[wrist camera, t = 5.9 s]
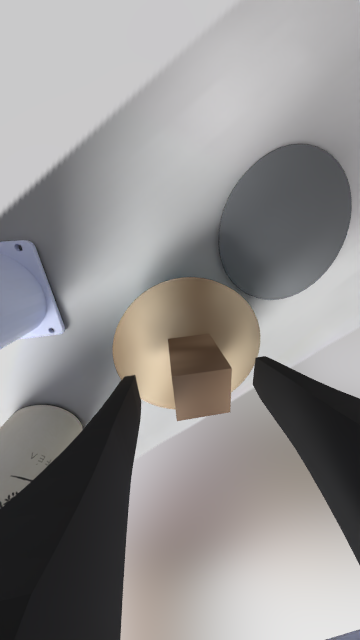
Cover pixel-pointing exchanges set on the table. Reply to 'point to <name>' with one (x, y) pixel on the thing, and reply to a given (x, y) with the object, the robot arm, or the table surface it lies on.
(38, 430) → the travel mug
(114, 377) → the table surface
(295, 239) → the mat
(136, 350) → the lid
